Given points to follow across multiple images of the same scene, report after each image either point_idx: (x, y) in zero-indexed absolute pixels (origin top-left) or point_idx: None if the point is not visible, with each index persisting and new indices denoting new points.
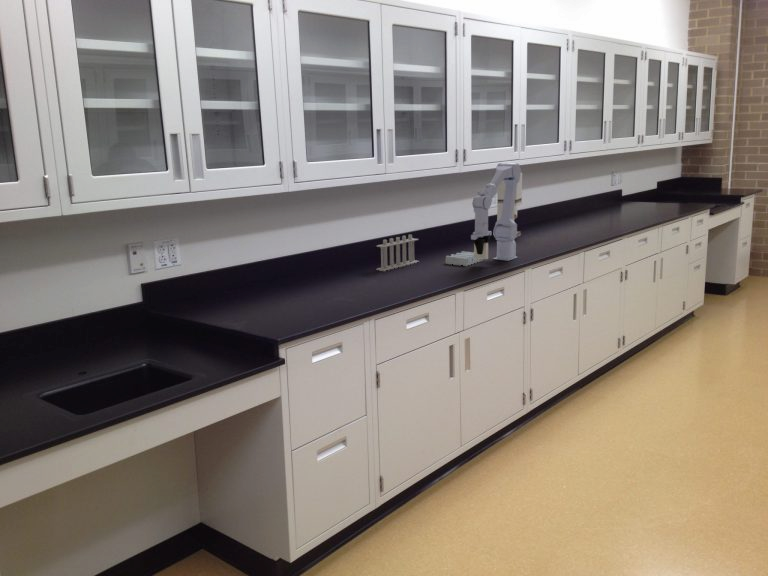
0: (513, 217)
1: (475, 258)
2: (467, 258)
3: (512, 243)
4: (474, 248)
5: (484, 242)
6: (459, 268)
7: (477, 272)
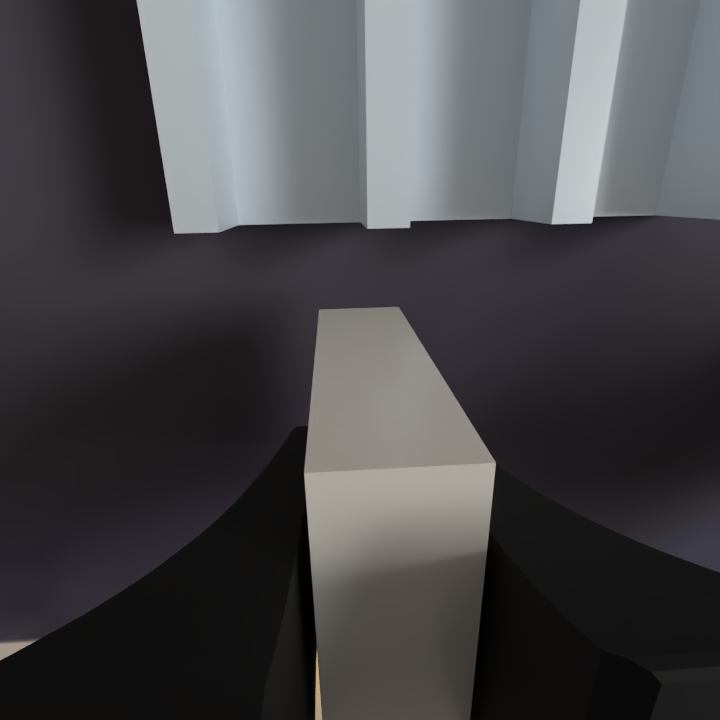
0: None
1: (528, 194)
2: (208, 232)
3: None
4: (313, 388)
5: (486, 716)
6: (8, 227)
7: (5, 531)
